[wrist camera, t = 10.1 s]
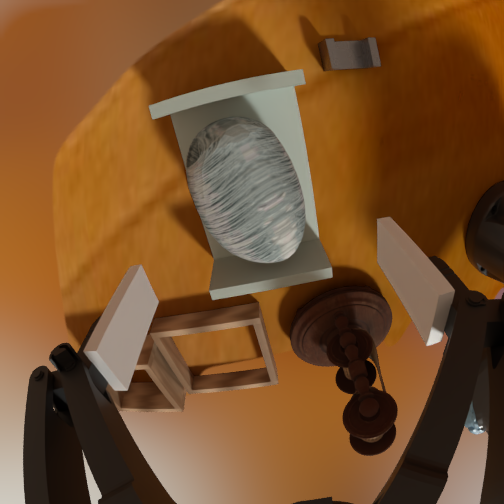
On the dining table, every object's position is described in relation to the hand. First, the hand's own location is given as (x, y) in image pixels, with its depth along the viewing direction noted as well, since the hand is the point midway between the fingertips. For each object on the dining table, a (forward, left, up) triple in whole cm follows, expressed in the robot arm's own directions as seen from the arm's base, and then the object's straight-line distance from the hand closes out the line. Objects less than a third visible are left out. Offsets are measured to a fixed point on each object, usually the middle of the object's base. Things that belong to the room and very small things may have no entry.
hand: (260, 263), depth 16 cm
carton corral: (+25, +26, -17) cm, 40 cm away
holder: (0, 0, -17) cm, 17 cm away
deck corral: (+10, +24, -17) cm, 31 cm away
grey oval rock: (0, 0, -16) cm, 16 cm away
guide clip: (-12, -11, -17) cm, 23 cm away
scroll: (-8, +23, -17) cm, 29 cm away
